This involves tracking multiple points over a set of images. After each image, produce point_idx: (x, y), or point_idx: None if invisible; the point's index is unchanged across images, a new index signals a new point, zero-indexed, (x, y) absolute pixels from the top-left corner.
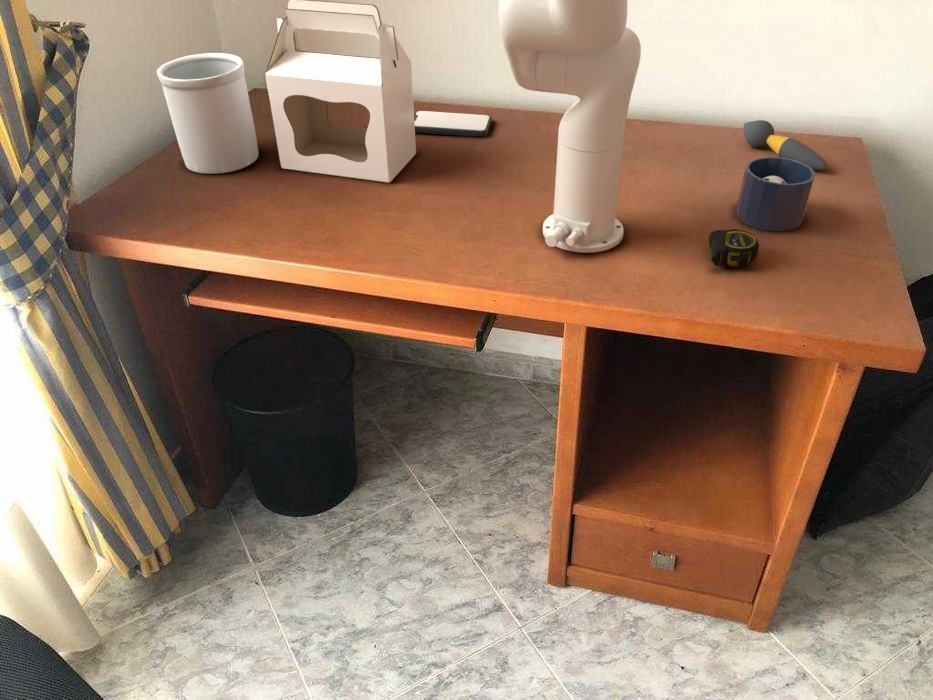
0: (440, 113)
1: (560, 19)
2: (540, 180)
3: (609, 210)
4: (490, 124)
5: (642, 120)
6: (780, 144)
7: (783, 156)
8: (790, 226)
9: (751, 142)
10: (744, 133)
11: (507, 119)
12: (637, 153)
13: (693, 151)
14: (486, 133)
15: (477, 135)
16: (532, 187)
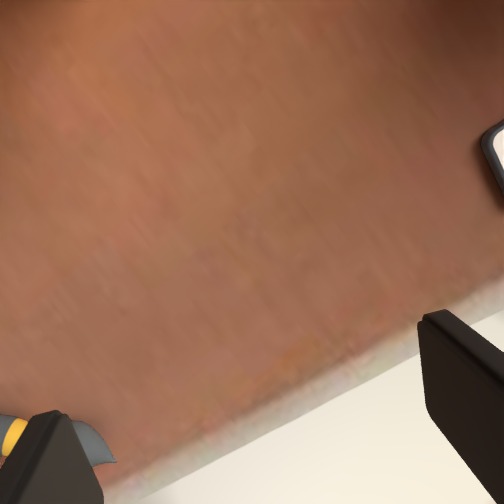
0: None
1: None
2: (277, 48)
3: None
4: (500, 186)
5: (289, 391)
6: (10, 430)
7: (5, 415)
8: None
9: (75, 422)
10: (95, 434)
11: (488, 235)
12: (212, 275)
13: (144, 347)
14: (483, 143)
15: (494, 127)
16: (270, 8)
